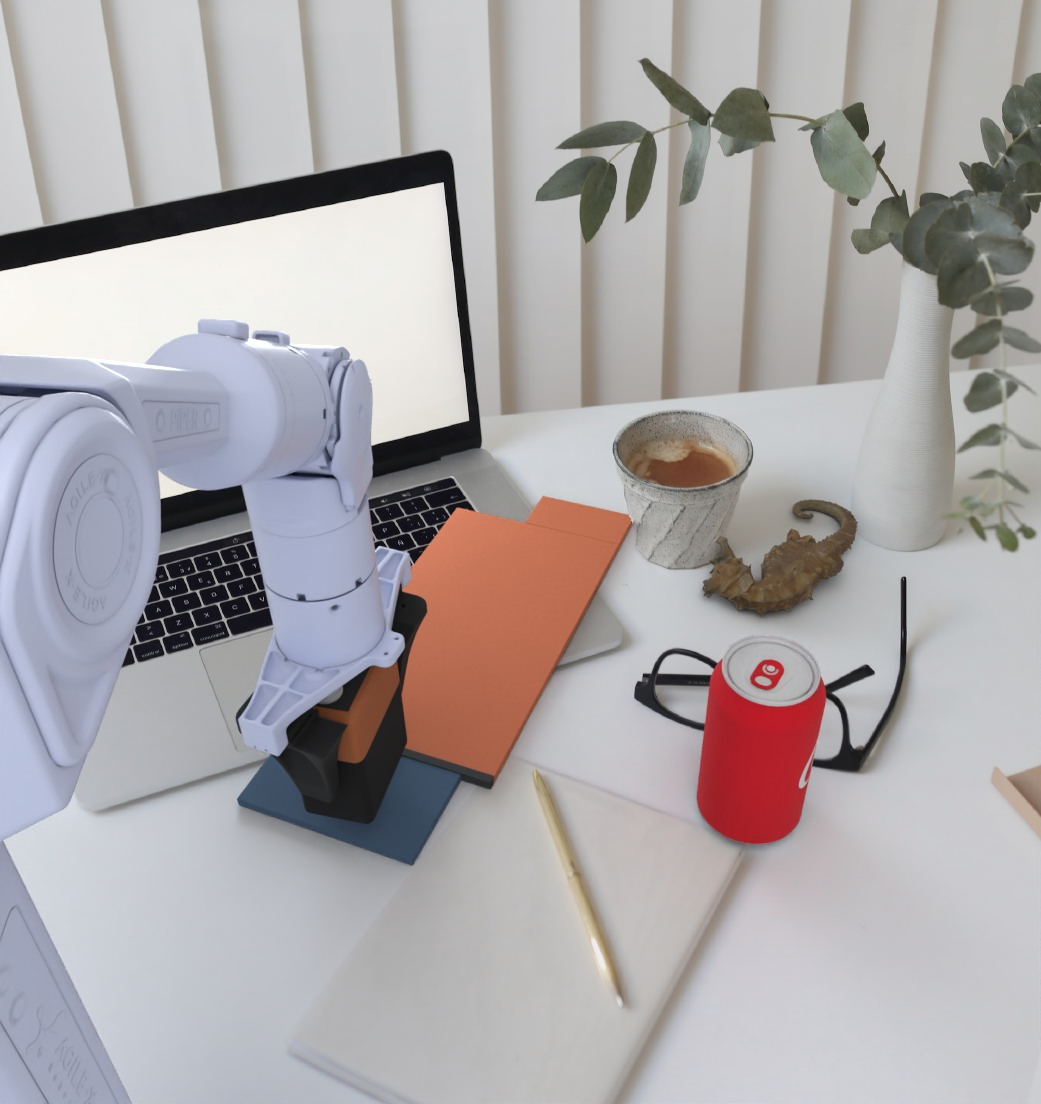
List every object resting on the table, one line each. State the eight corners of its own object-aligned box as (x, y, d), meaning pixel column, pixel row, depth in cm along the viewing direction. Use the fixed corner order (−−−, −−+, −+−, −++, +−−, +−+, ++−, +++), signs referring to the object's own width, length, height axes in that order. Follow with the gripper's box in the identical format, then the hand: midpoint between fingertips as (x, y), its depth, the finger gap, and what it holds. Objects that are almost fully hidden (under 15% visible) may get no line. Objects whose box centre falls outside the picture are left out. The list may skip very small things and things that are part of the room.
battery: (410, 740, 66) (395, 622, 60) (373, 829, 61) (352, 709, 55) (344, 729, 67) (322, 610, 61) (302, 815, 62) (273, 696, 56)
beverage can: (815, 795, 65) (848, 653, 58) (776, 869, 61) (806, 727, 54) (720, 754, 68) (740, 613, 60) (677, 822, 64) (693, 681, 56)
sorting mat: (444, 877, 61) (443, 870, 61) (237, 805, 66) (235, 797, 65) (634, 521, 87) (634, 514, 87) (477, 486, 91) (476, 479, 91)
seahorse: (904, 553, 83) (912, 521, 81) (755, 641, 76) (760, 608, 74) (813, 499, 89) (819, 468, 87) (667, 575, 82) (670, 543, 80)
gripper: (313, 682, 47) (350, 865, 56) (452, 501, 58) (465, 679, 66) (181, 643, 50) (236, 825, 58) (338, 475, 60) (365, 650, 68)
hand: (351, 745), depth 62 cm, fingers closed on battery, 7 cm apart
